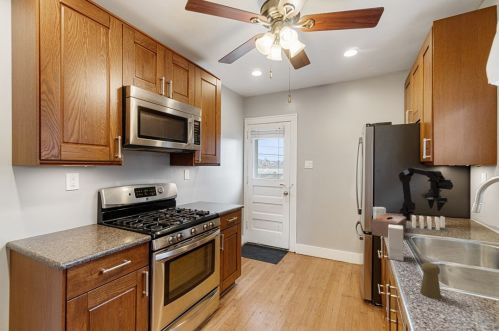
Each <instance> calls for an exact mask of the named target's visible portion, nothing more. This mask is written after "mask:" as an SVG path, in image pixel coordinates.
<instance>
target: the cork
mask: <svg viewBox="0 0 499 331" xmlns="http://www.w3.org/2000/svg"><path fill="white" fill-rule="evenodd" d="M421 270H422V272H423V273H422V279H421V285H420V291H419V292H420V294H421V295H422V296H424V297H426V298H428V299H433V300H440V299H441V298H442V296H441V295H442V294H441V288H440V280H439V275H440V273H441V269H440V267H439V266H438V265H437V264H435V263H433V262H424V263H422V264H421Z"/></svg>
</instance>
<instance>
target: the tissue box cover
mask: <svg viewBox="0 0 499 331" xmlns="http://www.w3.org/2000/svg"><path fill="white" fill-rule="evenodd" d="M389 224H390V225H400V226H403V233H404V232H405V231H406V230H407V228H406V225H407V221H406V217H404V216H402V215H395V214H388V213H386V214H382V215H380V216H378V217H376V218H374V219H373V218H372V219H371V236H379V237H383V238H388V226H389Z"/></svg>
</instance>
